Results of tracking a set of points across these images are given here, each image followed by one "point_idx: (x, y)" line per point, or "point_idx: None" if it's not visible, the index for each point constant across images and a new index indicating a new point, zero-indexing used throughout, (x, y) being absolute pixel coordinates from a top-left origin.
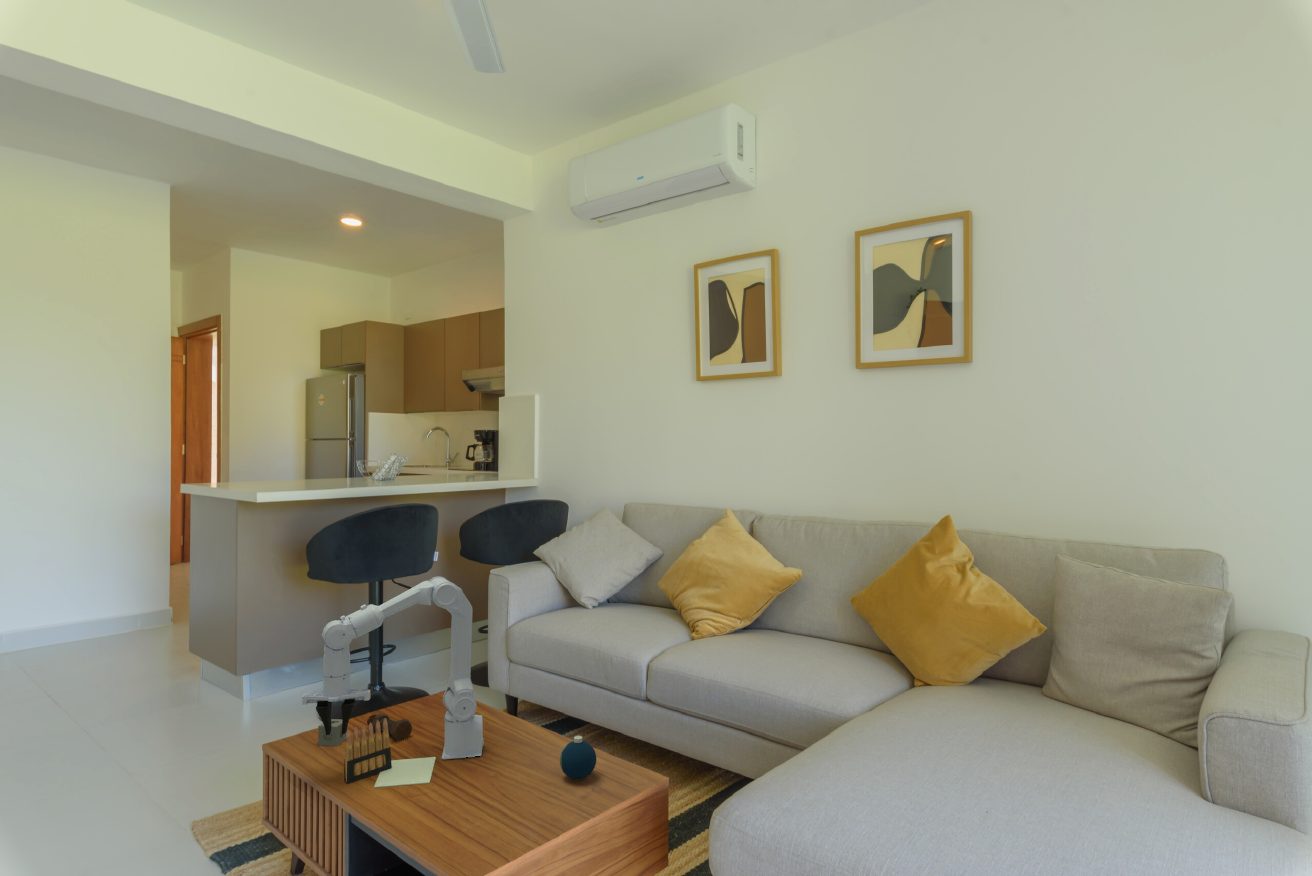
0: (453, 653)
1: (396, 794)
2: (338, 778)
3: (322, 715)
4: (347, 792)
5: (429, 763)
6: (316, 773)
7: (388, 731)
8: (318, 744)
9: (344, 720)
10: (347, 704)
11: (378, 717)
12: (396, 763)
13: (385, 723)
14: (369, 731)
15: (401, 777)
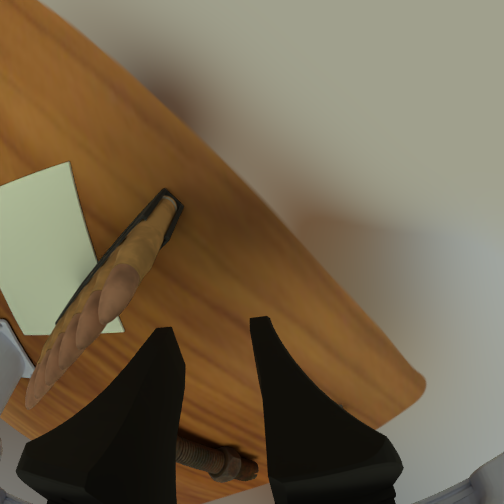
0: None
1: (5, 127)
2: (214, 231)
3: (311, 410)
4: (138, 124)
5: (14, 303)
6: (303, 270)
7: (190, 443)
8: (341, 406)
9: (127, 382)
10: (48, 486)
11: (225, 474)
12: None
13: (28, 386)
14: (59, 346)
15: (27, 226)
